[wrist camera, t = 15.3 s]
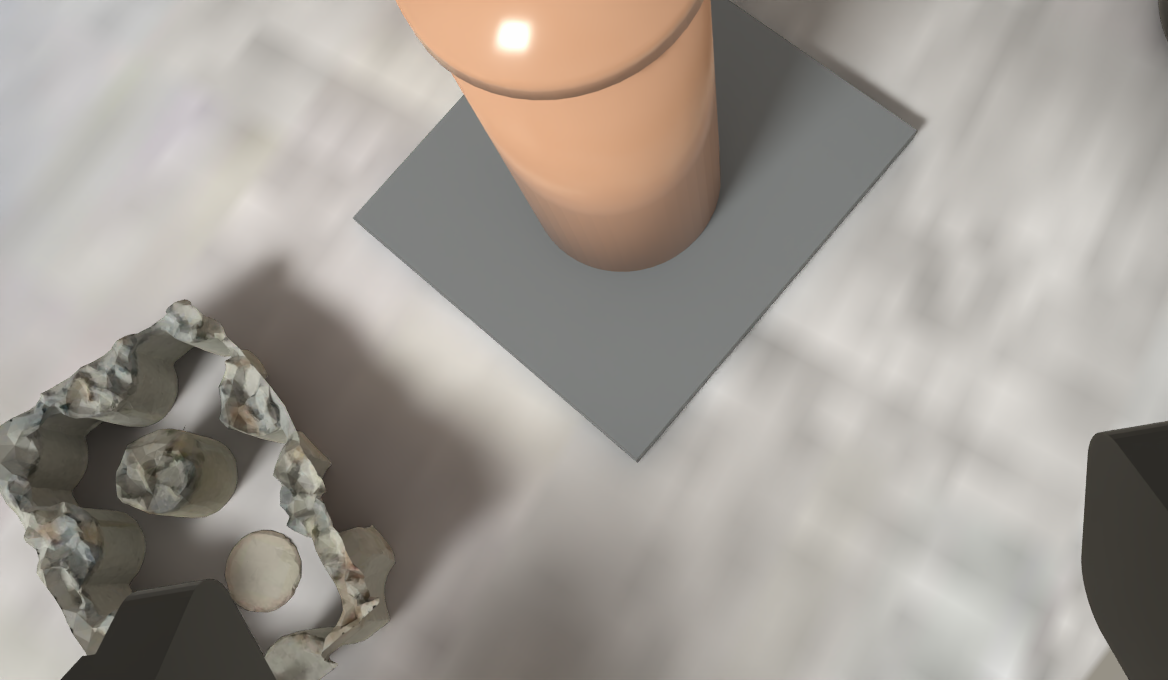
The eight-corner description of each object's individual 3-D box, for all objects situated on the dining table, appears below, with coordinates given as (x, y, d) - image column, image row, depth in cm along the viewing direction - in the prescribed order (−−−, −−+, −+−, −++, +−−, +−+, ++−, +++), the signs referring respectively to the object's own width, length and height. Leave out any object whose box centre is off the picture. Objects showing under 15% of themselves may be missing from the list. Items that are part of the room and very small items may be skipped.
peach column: (745, 258, 28) (745, 38, 16) (539, 295, 29) (400, 110, 17) (698, 13, 30) (669, -341, 18) (506, 54, 30) (359, -263, 19)
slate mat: (358, 223, 30) (352, 218, 30) (619, -67, 31) (617, -77, 31) (637, 462, 28) (635, 460, 27) (913, 137, 29) (916, 129, 28)
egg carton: (438, 605, 28) (392, 612, 24) (215, 767, 28) (130, 801, 24) (249, 304, 31) (179, 266, 27) (44, 451, 30) (-58, 434, 26)
